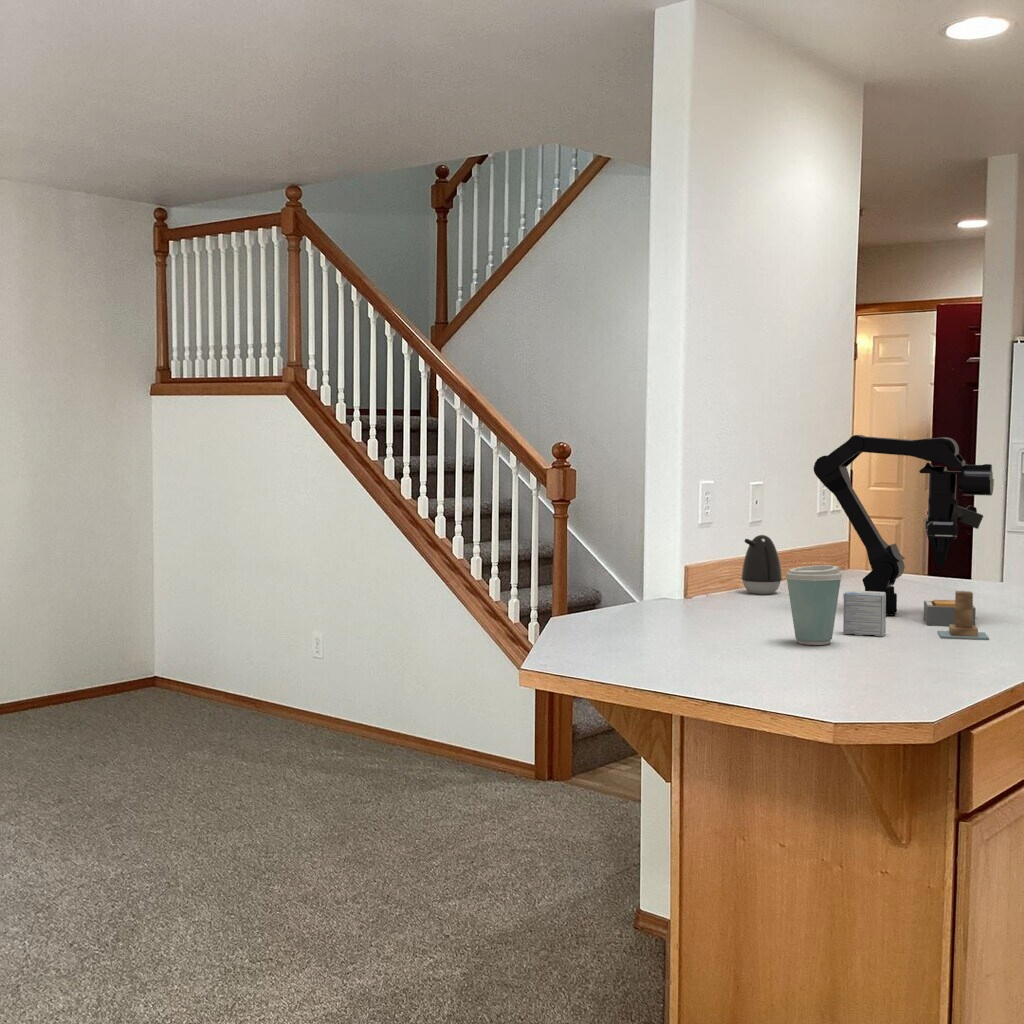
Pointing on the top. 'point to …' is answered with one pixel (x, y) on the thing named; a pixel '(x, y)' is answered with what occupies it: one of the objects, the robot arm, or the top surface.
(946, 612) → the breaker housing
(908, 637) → the top surface
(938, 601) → the button
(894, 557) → the robot arm
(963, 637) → the rubber mat
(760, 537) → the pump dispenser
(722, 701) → the top surface
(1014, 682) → the top surface
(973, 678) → the top surface
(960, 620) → the press tool
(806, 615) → the disposable coffee cup
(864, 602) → the medicine box
